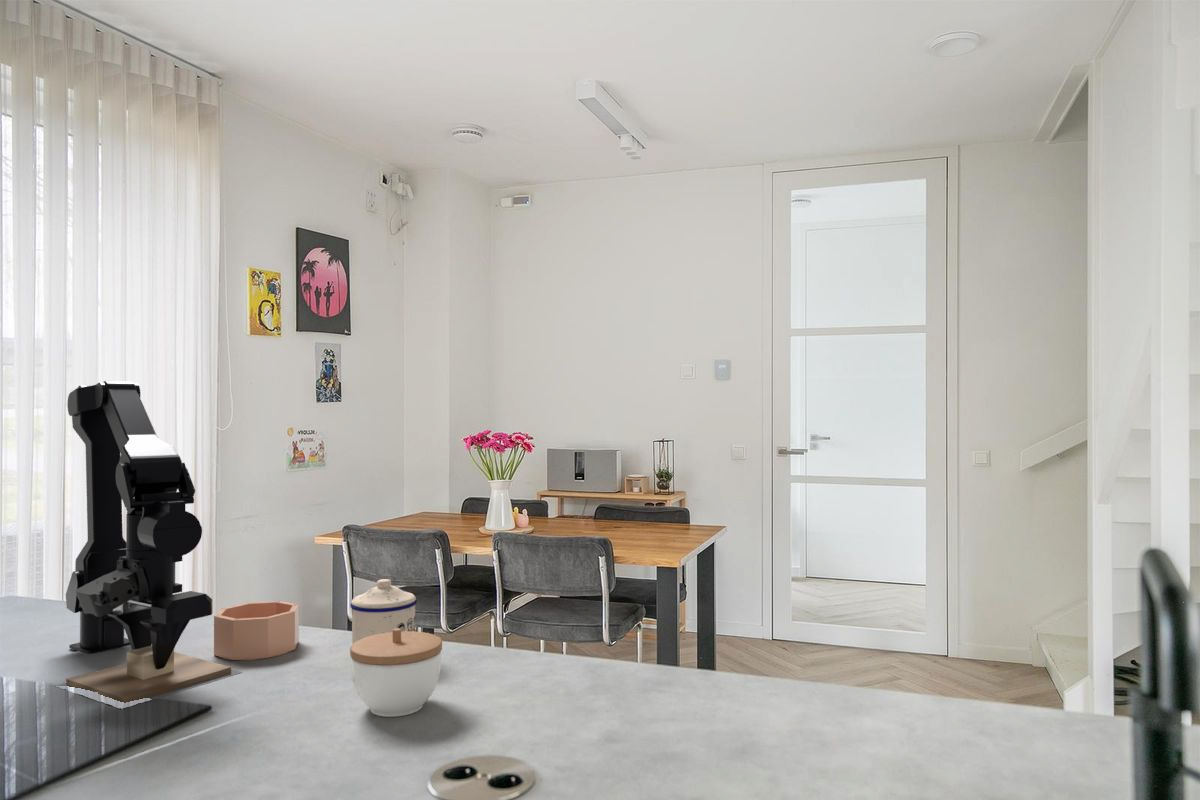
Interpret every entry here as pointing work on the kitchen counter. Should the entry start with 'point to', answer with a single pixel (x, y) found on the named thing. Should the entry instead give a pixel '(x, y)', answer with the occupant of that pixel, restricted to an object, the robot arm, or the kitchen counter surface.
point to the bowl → (256, 630)
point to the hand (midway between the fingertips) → (150, 665)
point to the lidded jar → (396, 671)
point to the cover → (147, 676)
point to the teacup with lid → (382, 611)
